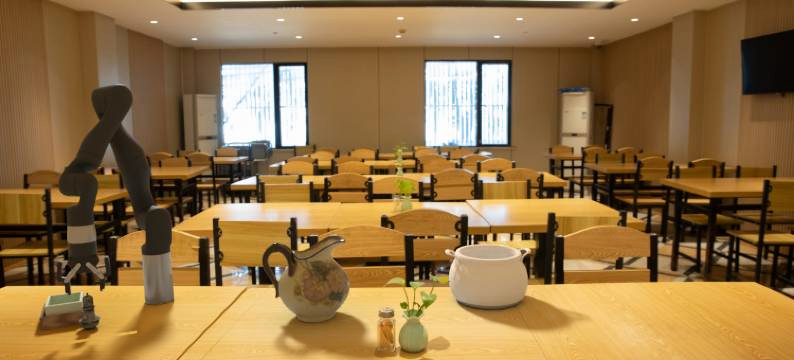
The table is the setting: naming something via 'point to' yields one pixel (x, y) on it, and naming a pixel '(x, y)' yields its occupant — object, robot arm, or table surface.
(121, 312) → the table surface
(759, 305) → the table surface
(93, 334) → the table surface
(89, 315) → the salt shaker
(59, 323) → the box
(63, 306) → the green crate
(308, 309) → the pitcher
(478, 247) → the pot
